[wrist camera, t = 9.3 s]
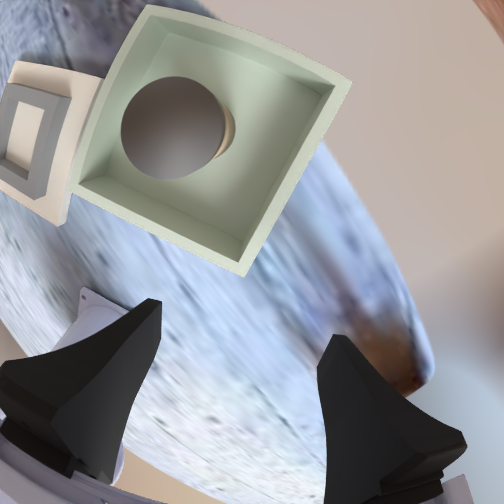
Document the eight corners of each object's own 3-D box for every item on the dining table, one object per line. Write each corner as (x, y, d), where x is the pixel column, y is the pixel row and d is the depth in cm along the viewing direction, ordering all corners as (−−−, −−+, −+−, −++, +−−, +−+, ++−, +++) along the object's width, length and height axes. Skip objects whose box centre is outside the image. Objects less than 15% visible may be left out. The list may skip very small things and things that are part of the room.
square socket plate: (66, 222, 19) (46, 233, 17) (-6, 177, 17) (-24, 183, 15) (109, 80, 15) (89, 75, 12) (23, 61, 13) (4, 59, 11)
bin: (247, 250, 20) (244, 277, 16) (99, 179, 18) (67, 190, 14) (334, 93, 15) (353, 82, 11) (167, 25, 13) (146, 4, 10)
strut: (246, 149, 16) (236, 158, 10) (184, 171, 17) (140, 194, 11) (225, 88, 15) (202, 60, 8) (163, 112, 15) (109, 104, 9)
